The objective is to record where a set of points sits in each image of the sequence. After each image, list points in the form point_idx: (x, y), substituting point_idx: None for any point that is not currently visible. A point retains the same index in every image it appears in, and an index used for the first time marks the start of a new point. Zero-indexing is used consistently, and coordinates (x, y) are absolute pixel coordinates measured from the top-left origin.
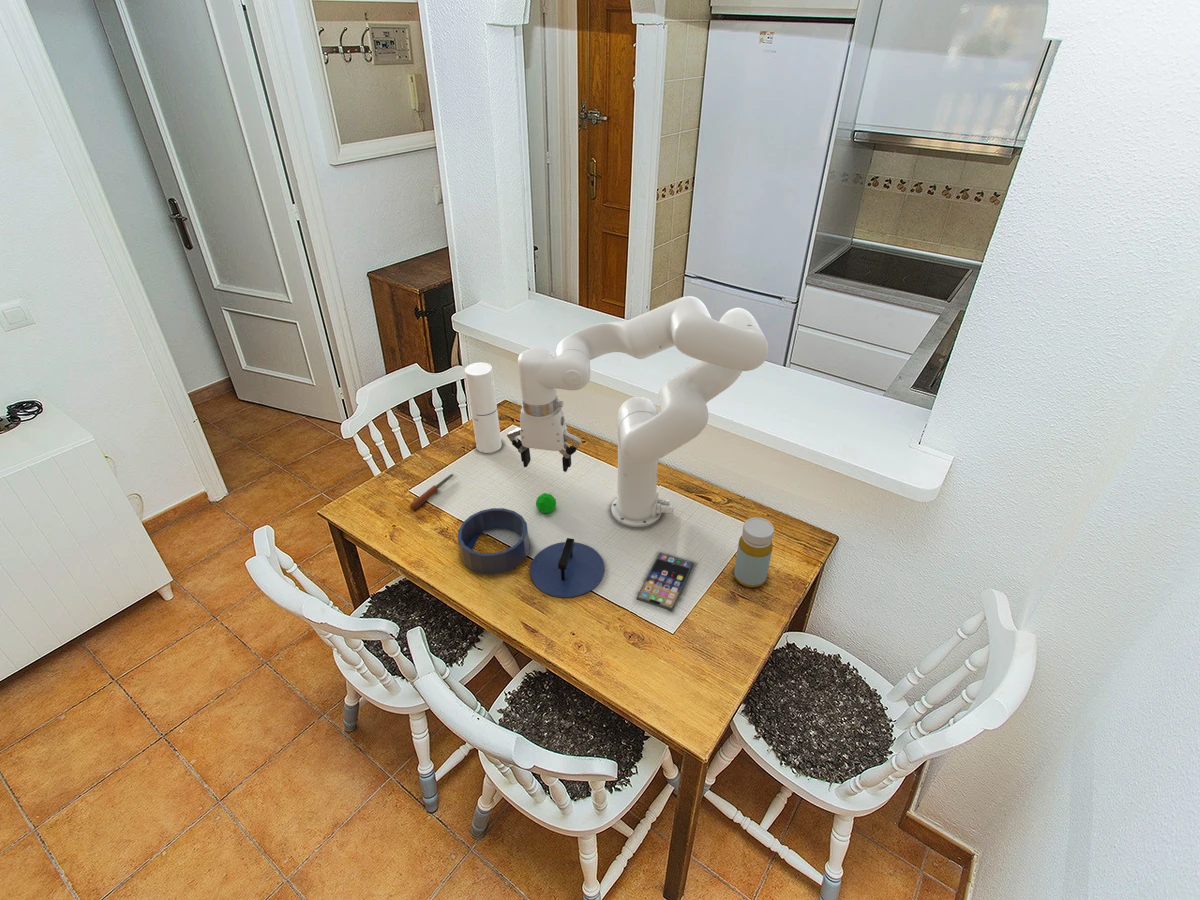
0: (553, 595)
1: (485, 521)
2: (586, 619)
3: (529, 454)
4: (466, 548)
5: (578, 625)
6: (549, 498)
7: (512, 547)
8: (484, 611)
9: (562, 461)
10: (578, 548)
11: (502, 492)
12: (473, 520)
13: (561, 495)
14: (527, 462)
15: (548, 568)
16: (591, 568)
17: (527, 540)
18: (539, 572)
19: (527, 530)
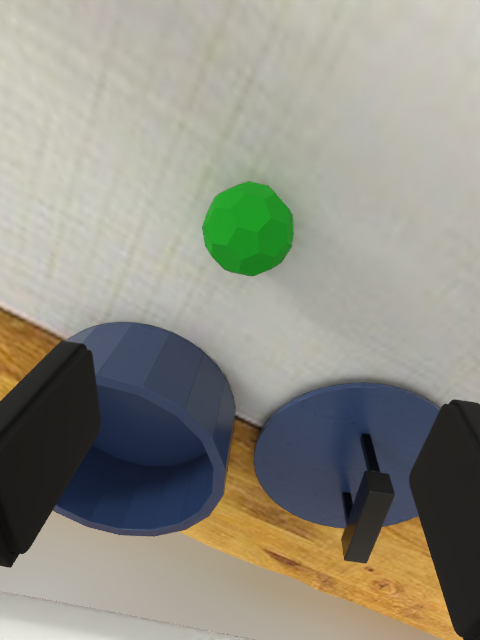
0: (325, 525)
1: None
2: (398, 550)
3: (53, 406)
4: (72, 517)
5: (381, 558)
6: (266, 254)
7: (198, 517)
8: (185, 532)
9: (445, 597)
10: (388, 410)
11: (27, 115)
12: None
13: (303, 100)
14: (85, 430)
15: (303, 468)
16: None
17: (229, 446)
18: (281, 478)
19: (219, 426)
